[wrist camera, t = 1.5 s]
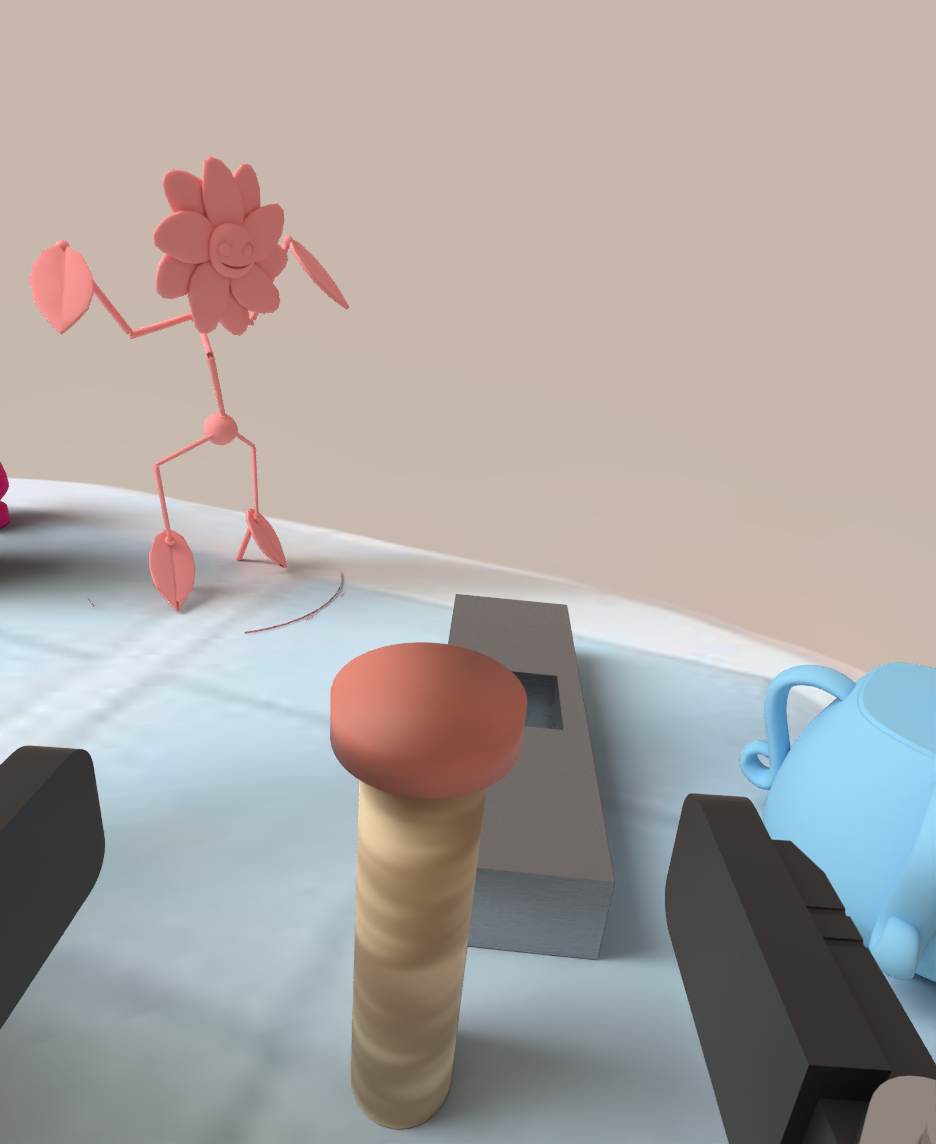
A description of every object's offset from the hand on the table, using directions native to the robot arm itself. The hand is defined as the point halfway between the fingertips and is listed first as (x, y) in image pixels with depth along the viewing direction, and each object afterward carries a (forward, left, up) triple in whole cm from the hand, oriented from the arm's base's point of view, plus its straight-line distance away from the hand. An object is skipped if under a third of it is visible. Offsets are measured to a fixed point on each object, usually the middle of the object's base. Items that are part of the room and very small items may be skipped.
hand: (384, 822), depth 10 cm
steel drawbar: (+4, +30, -23) cm, 38 cm away
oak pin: (0, +10, -23) cm, 25 cm away
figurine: (-20, +50, -23) cm, 59 cm away
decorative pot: (+26, +22, -23) cm, 41 cm away
